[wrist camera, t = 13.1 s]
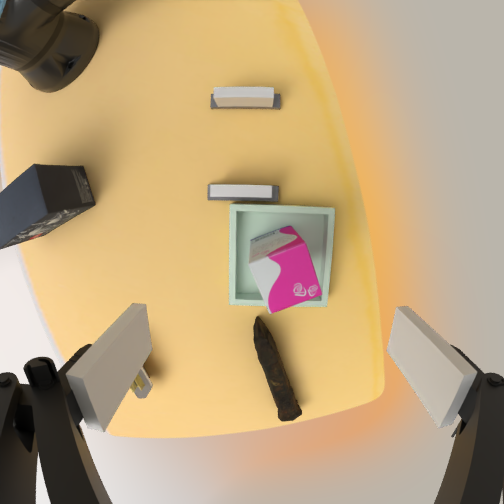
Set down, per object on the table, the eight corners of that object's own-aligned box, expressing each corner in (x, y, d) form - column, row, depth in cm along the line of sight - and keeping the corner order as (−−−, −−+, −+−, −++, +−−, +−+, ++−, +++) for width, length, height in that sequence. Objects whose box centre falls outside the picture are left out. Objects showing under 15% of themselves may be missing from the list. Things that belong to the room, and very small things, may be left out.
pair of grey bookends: (212, 95, 34) (205, 83, 30) (279, 95, 34) (282, 83, 30) (208, 199, 37) (201, 201, 33) (277, 201, 37) (280, 203, 33)
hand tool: (300, 404, 44) (303, 422, 40) (277, 409, 45) (279, 427, 40) (275, 310, 41) (278, 324, 36) (248, 316, 41) (247, 331, 37)
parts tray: (232, 203, 38) (229, 204, 35) (329, 206, 37) (335, 208, 34) (231, 296, 40) (229, 304, 37) (322, 298, 40) (326, 306, 37)
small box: (43, 237, 39) (-5, 252, 28) (32, 201, 38) (-17, 207, 26) (97, 206, 38) (47, 214, 26) (84, 164, 37) (33, 161, 25)
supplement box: (265, 280, 39) (267, 316, 28) (249, 239, 38) (245, 260, 27) (306, 265, 38) (324, 296, 27) (291, 223, 37) (305, 238, 26)
